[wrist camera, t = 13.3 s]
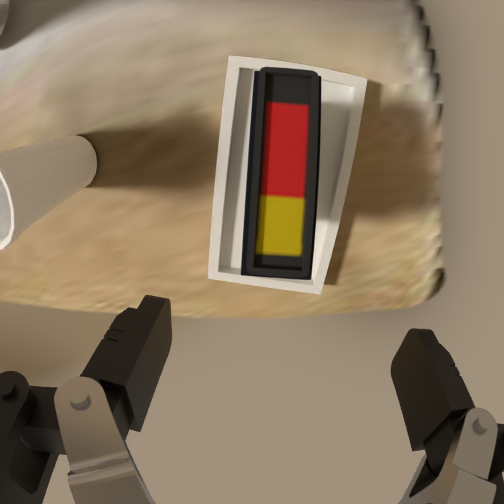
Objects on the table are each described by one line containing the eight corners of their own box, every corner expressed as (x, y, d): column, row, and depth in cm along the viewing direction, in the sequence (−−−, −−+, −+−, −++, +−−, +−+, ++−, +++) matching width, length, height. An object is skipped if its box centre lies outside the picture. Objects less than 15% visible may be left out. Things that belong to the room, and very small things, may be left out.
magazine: (252, 248, 30) (238, 280, 15) (261, 115, 28) (255, 35, 14) (291, 250, 30) (314, 285, 15) (299, 118, 28) (324, 41, 13)
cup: (93, 207, 32) (12, 269, 19) (45, 177, 30) (-40, 223, 17) (116, 143, 28) (22, 180, 15) (63, 116, 27) (-34, 139, 14)
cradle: (232, 59, 24) (229, 55, 22) (361, 80, 24) (367, 78, 22) (211, 268, 34) (207, 278, 32) (318, 284, 34) (320, 294, 32)
